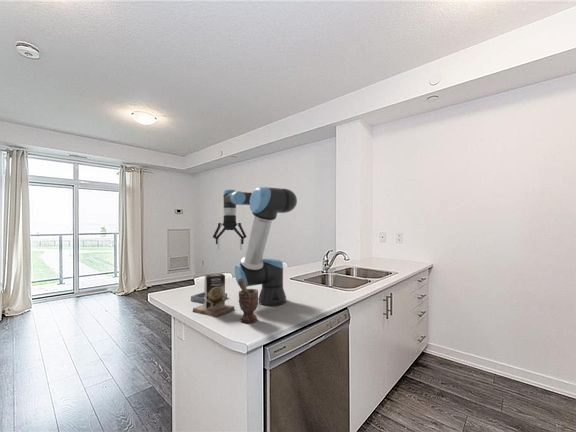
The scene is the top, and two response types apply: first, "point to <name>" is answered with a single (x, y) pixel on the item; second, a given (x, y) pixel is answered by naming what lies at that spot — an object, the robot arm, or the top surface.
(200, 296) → the holder ring
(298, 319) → the top surface
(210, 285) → the coffee box
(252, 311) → the mortar and pestle
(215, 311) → the walnut board
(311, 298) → the top surface
